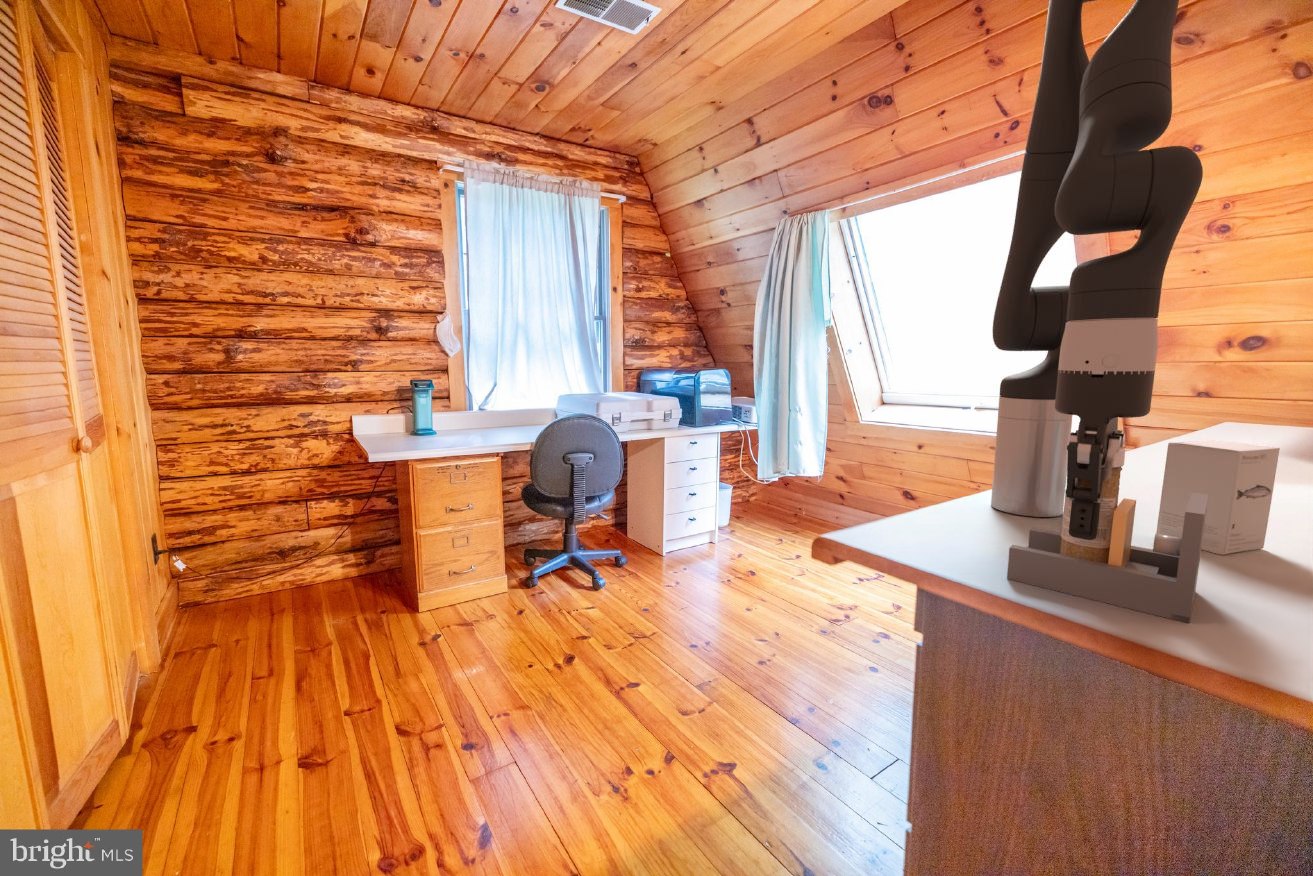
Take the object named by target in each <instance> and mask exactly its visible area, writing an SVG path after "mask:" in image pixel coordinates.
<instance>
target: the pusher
mask: <svg viewBox="0 0 1313 876" xmlns="http://www.w3.org/2000/svg"><path fill="white" fill-rule="evenodd" d="M1136 505H1137V499H1132V498H1123V499H1122V500H1121V502H1119V503H1118V505H1117V508H1116V509H1115V510H1114V516H1113V525H1112V534H1111V543H1110V552H1109V561H1108V564H1110V565H1115V566H1120V567H1125V568H1130V569H1135V570H1139V571H1144V572H1149V573H1154V574H1159V567H1155V566H1150V565H1145V564H1140V563H1135V562H1130V561H1129V558H1130V549H1131V546H1132V541H1133V534H1134V533H1133V531H1134V525H1135V524H1134V523H1135V522H1134V521H1135V516H1136V515H1135V514H1136V508H1137V507H1136Z"/></svg>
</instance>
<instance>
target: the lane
mask: <svg viewBox="0 0 1313 876" xmlns="http://www.w3.org/2000/svg"><path fill="white" fill-rule="evenodd" d="M1208 497H1209V495H1208V494H1200V493H1192V494H1191V497H1190V500H1189V502H1188V505H1187V508H1186V511H1185V518H1184V525H1183V533H1182V538H1180V537H1174V536H1167V535H1161V534H1156V533H1155V534H1154V538H1153V539H1154V540H1153V546H1152V547H1153V548H1146V547H1141V546H1135V545H1131V549H1130V558H1129V561H1130V562H1135V563H1140V564H1145V565H1150V566H1155V567H1159V574H1154V573H1149V572H1144V571H1139V570H1135V569H1130V568H1125V567H1120V566H1115V565H1110V564H1105V563H1100V562H1095V561H1091V560H1086V559H1081V558H1076V557H1071V556H1066V555H1061V554H1060V552H1061V551H1060V550H1061V541H1062V537H1061V533H1062V532H1059V531H1053V530H1049V529H1048V530H1047V529H1042V528H1036V527H1032V528H1030V529H1029V532H1028V533H1029V535H1028V544H1027V546H1021V545H1017V544H1011V545H1010V546H1009V547H1008V549H1009V550H1008V562H1007V573H1006V575H1007V576H1006V579H1008V580H1011V581H1016V582H1020V583H1023V584H1028V585H1032V586H1036V587H1040V588H1044V589H1047V590H1048V589H1049V590H1052V591H1056V592H1060V593H1065V594H1067V595H1072V596H1077V597H1080V598H1085V599H1089V600H1093V601H1097V602H1102V603H1105V604H1108V605H1109V604H1110V605H1114V606H1118V607H1121V608H1125V609H1129V610H1135V611H1137V612H1142V613H1146V614H1150V615H1154V616H1158V617H1163V618H1165V619H1166V618H1167V619H1171V620H1176V621H1179V622H1183V623H1187V624H1190V622H1191V617H1192V612H1193V607H1194V601H1195V595H1196V589H1197V583H1198V575H1199V569H1200V562H1201V554H1202V550H1201V548H1202V541H1203V533H1204V526H1205V519H1206V512H1207V504H1208Z"/></svg>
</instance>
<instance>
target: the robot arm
mask: <svg viewBox="0 0 1313 876" xmlns="http://www.w3.org/2000/svg"><path fill="white" fill-rule="evenodd" d="M1094 1H1095V2H1096V0H1048V7H1047V8H1048V9H1047V17H1046V18H1047V19H1046V26H1045V35H1044V44H1043V50H1042V59H1041V65H1040V66H1041V67H1040V73H1039V74H1040V75H1039V80H1038V85H1037V90H1036V96H1035V101H1034V107H1033V110H1032V111H1033V112H1032V115H1031V121H1030V126H1029V132H1028V135H1027V141H1026V146H1025V150H1024V155H1023V161H1022V162H1023V163H1022V168H1021V173H1020V179H1019V188H1018V194H1017V201H1016V207H1015V208H1016V209H1015V216H1014V224H1013V229H1012V235H1011V241H1010V246H1009V251H1008V256H1007V259H1006V263H1005V268H1004V271H1003V274H1002V280H1001V284H1000V288H999V293H998V295H997V301H996V305H995V309H994V315H993V322H992V340H993V343H994V345H995V347H996V348H997V349H998V350H1001V351H1005V352H1044V351H1045V352H1047V353H1046V356H1045V358H1044V360H1043V361H1041V362H1040V363H1039V364H1037V365H1036V366H1034V367H1032V368H1029V369H1027V370H1025V371H1021V372H1019V373H1015V374H1011V375H1008V376H1006V377H1004V378H1003V379H1001V382H1000V385H999V399H998V409H997V411H998V412H997V422H996V423H997V425H996V426H997V427H996V436H995V437H996V438H995V447H994V461H993V475H992V476H993V477H992V486H991V488H992V489H991V499H990V500H991V501H990V506H991V507H992V508H994V509H996V510H997V511H998V510H999V511H1001V512H1005V513H1007V514H1008V513H1009V514H1013V515H1018V516H1027V517H1037V518H1038V517H1039V518H1051V517H1052V518H1053V517H1059V516H1063V513H1064V503H1065V494H1066V497H1067V498H1070V500H1072V505H1071V514H1070V524H1069V534H1070V536H1072V537H1075V538H1081V539H1086V540H1093V539H1095V538H1096V536H1097V531H1098V522H1099V513H1100V504H1101V501H1103V498H1104V496H1103V489H1104V484H1105V483H1106V482H1108V481H1110V480H1111V479H1112V474H1113V468H1114V458H1115V454H1116V453H1118V452H1119V450H1120V447H1122V448H1124V446H1125V441H1126V439H1125V438H1126V433H1125V432H1124V433H1123V430H1122V429H1118V428H1119V427H1118V425H1119V418H1121V419H1122V418H1123V419H1124V418H1125V419H1128V418H1142V417H1145V416H1148V414H1150V413H1151V407H1152V399H1153V390H1154V380H1155V374H1156V364H1157V357H1158V356H1157V355H1158V351H1159V350H1158V349H1159V333H1158V331H1159V329H1158V318H1159V314H1160V313H1159V311H1160V303H1161V295H1162V289H1163V288H1162V287H1163V281H1164V274H1165V271H1166V268H1167V263H1168V261H1169V258H1170V255H1171V252H1172V249H1173V247H1174V244H1175V242H1176V239H1177V237H1178V235H1179V232H1180V230H1181V228H1182V226H1183V224H1184V222H1185V220H1186V218H1187V216H1188V214H1189V212H1190V210H1191V208H1192V205H1193V203H1194V202H1195V200H1196V198H1197V195H1198V193H1199V190H1200V188H1201V186H1202V181H1203V177H1204V176H1203V175H1204V169H1203V164H1202V162H1201V159H1200V157H1199V156H1198V154H1197V153H1196V152H1195V151H1194V150H1193V149H1192V148H1189V147H1187V146H1183V145H1170V146H1161V147H1155V148H1149V149H1146V148H1147V147H1148V146H1151V145H1152V144H1153V143H1155V142H1156V141H1158V139H1160V138H1161V137H1162V136H1163V134H1164V133H1165V132H1166V130H1167V129H1168V127H1169V125H1170V123H1171V119H1172V116H1173V115H1172V114H1173V98H1172V97H1173V95H1172V94H1173V93H1172V91H1173V90H1172V85H1173V84H1172V83H1173V82H1172V43H1173V36H1174V29H1175V23H1176V18H1177V12H1178V7H1179V4H1180V3H1179V2H1180V0H1135V2H1134V3H1133V5H1132V6H1131V8H1130V9H1129V10H1128V12H1127V13H1126V14H1125V16H1124V17H1123V18H1121V20H1120V21H1119V23H1118V24H1117V25H1116V26H1115V27H1114V28H1113V30H1111V32H1110V33H1109V34H1108V36H1107V37H1105V39H1104V40H1103V41H1102V43H1101V44H1100V45H1099V47H1098V48H1097V49H1096V51H1095V53H1093V55H1092V57H1091V59H1089V57H1088V53H1087V50H1086V48H1085V44H1084V38H1083V29H1082V27H1083V26H1082V14H1083V13H1082V12H1083V11H1082V10H1083V5H1084V3H1087V2H1094ZM1131 231H1140V233H1139V236H1138V238H1137V241H1136V242H1135V243H1134V244H1133V246H1132V247H1131V248H1128V249H1127V250H1125V251H1124V250H1123V251H1121V252H1119V253H1118V252H1117V253H1115V254H1110V255H1106V256H1102V257H1098V258H1094V259H1093V258H1092V259H1090V260H1087V261H1084V262H1082V263H1080V264H1078V265H1077V266H1075V268H1074V269H1073V271H1072V273H1071V276H1070V280H1069V285H1049V286H1047V285H1046V286H1032V285H1033V281H1034V279H1035V277H1036V275H1037V273H1038V269H1039V268H1040V266H1041V264H1042V262H1043V261H1044V259H1045V258H1046V257H1047V255H1048V253H1049V252H1050V251H1051V249H1052V248H1053V246H1054V245H1055V244H1056V243H1057V242H1058V241H1059V239H1060V238H1061V237H1062V236H1063V235H1064V234H1065V233H1068V234H1070V235H1072V236H1086V235H1087V236H1089V235H1097V234H1098V235H1099V234H1108V233H1120V232H1131ZM1073 416H1078V417H1079V422H1078V428H1077V429H1076V430H1075V432H1072V425H1073ZM1107 449H1108V452H1107ZM1106 453H1107V459H1106ZM1067 455H1068V461H1067ZM1105 461H1106V465H1105V469H1104V470H1103V471H1101V466H1103V465H1104V464H1105ZM1081 479H1087V480H1091V481H1092V488H1086V487H1079V483H1080V480H1081Z"/></svg>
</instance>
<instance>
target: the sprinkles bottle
mask: <svg viewBox="0 0 1313 876" xmlns="http://www.w3.org/2000/svg"><path fill="white" fill-rule="evenodd" d="M1107 452H1108V449H1107ZM1125 457H1126V450H1125V448H1124V447H1123V448H1122V447H1120V450H1119V452H1118V453H1116V454H1115V458H1114V468H1113V474H1112V479H1111V480H1110V481H1108V482H1106V483H1105V484H1104V489H1103V496H1104V498H1103V501H1101V504H1100V513H1099V522H1098V531H1097V536H1096V538H1095V539H1093V540H1086V539H1081V538H1075V537H1072V536H1070V534H1069V524H1070V514H1071V505H1072V500H1070V498H1067V497H1066V494H1065V496H1064V506H1063V514H1062V523H1061V524H1062V525H1061V532H1060V533H1061V537H1062V541H1061V550H1060V551H1061V552H1060V554H1061V555H1066V556H1071V557H1076V558H1081V559H1086V560H1091V561H1095V562H1100V563H1105V564H1108V561H1109V552H1110V543H1111V534H1112V525H1113V516H1114V510H1115V509H1116V508H1117V506H1118V505H1119V492H1120V480H1121V472H1122V471H1123V466H1124V465H1125ZM1106 459H1107V453H1106ZM1067 461H1068V455H1067ZM1105 465H1106V461H1105V464H1104V465H1103V466H1101V471H1103V470H1104V469H1105ZM1079 487H1086V488H1092V481H1091V480H1087V479H1081V480H1080V483H1079Z"/></svg>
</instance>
